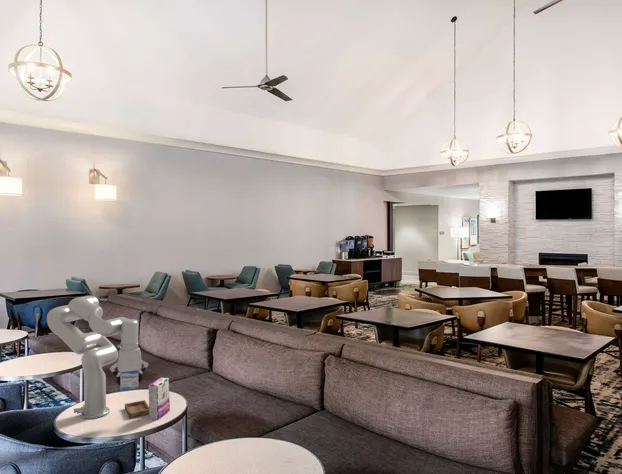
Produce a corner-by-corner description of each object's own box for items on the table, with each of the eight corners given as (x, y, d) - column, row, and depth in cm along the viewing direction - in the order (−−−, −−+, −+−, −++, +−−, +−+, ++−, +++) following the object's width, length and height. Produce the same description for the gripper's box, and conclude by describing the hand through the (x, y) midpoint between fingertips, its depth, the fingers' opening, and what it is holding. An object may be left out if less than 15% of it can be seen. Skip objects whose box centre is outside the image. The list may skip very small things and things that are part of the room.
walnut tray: (129, 418, 215) (129, 413, 215) (124, 408, 227) (124, 403, 227) (150, 414, 220) (150, 409, 219) (144, 404, 232) (144, 400, 231)
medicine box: (120, 391, 209) (120, 372, 209) (120, 388, 213) (120, 369, 213) (138, 389, 212) (138, 370, 212) (138, 385, 216) (138, 368, 216)
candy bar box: (160, 410, 225) (160, 377, 224) (170, 410, 224) (169, 377, 223) (148, 419, 214) (147, 384, 214) (158, 420, 213) (157, 385, 213)
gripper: (110, 350, 205) (109, 388, 205) (150, 346, 213) (150, 382, 213) (108, 346, 211) (108, 383, 212) (147, 342, 220) (147, 378, 220)
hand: (129, 382), depth 213 cm, fingers closed on medicine box, 8 cm apart
